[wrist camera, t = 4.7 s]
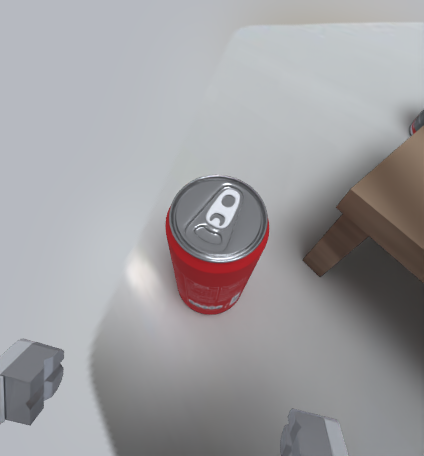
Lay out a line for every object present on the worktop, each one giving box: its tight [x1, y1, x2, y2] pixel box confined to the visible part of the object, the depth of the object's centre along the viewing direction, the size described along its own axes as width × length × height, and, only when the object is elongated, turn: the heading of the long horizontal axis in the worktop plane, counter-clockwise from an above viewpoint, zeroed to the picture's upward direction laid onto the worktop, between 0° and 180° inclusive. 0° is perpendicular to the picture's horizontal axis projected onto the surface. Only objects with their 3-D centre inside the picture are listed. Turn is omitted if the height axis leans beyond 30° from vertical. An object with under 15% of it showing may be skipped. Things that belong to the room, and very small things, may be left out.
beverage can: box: [166, 175, 269, 314], centre depth 20 cm, size 5×5×12 cm
